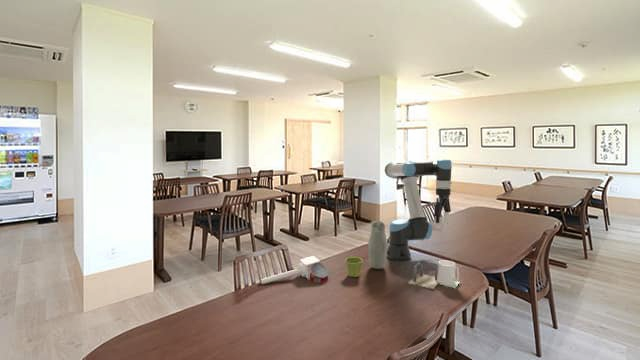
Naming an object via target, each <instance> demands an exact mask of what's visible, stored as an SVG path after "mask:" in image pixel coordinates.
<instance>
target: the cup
mask: <svg viewBox="0 0 640 360" xmlns="http://www.w3.org/2000/svg"><path fill="white" fill-rule="evenodd" d="M437 264H438V282H439V283H441V284H444V285H453V284H455V282H457V281H458V282H459V279H460V269H459V267H458V266H456V262H454V261H452V260H448V259H447V260H445V259H443V260H439V261H438V263H437ZM456 274H457V276H456Z"/></svg>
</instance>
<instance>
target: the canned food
mask: <svg viewBox="0 0 640 360" xmlns="http://www.w3.org/2000/svg"><path fill="white" fill-rule="evenodd" d="M310 270H311V272H310V273H309V281H310V282H311V283H313V282H314V284H325V283H326V282H327V281H329V271H328V269H327V268H326V266H325V265H323V263H321V261H320V262H318V263H314V264H311V267H310Z"/></svg>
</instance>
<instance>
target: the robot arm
mask: <svg viewBox="0 0 640 360" xmlns="http://www.w3.org/2000/svg"><path fill="white" fill-rule="evenodd" d="M452 168H453V167H452V161H451V160H450V159H444V158H443V159H437V161H429V162H427V161H426V162H423V161H422V162H417V161H412V160H408V161H407V160H406V161H392V162H389V163H388V164H386V166H385V167H384V174H385V175H386V176H387V177H388V178H392V179H393V180H394V179H398V180H400V182H401V183H402V184H403V185H404V186H403V187H404V191H405V197H406V203H407V208H408V213H409V218H408V219H396V220H395V219H394V220H392V221H391V222H390V223H389V229H388V230H389V244H388V246H387V257H386V259H389V260H393V261H400V262H401V261H408V260H410V259H411V257H412V255H411V249H410V248H409V241H425V240H429V239H430V238H431V236H432V234H433V223H432V222H431V221H429V220H428V219H427V216H425V215H424V212H423V211H424V210H423V206H422V201H421V197H420V191H419V186H418V180H419V178H420V177H421V176H429V177H430V176H435V177H436V178H435V179H436V180H435V187H436V189H435V195H436V196H438V197H436V202H435V208H434V212H433V217H435V219H434V220H435V221H434V223H435V225H434V228H435V229H437V230H441V227H442V222H443V224H446V225H449V224H450V223H449V222H450V213H451V211H452V210H451V204H450V203H451V202H450V196H451V191H452V190H451V186H452V183H453V182H452V179H451V178H452ZM443 210H444V212H442V211H443ZM442 213H443V221H442V216H441V215H442Z"/></svg>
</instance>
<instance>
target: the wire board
mask: <svg viewBox="0 0 640 360" xmlns="http://www.w3.org/2000/svg"><path fill="white" fill-rule="evenodd" d="M413 278H414V276H413V277H412V278H411V279H410V280H409V281H407V282H408V283H407V284H409V285H412V284H413V285H412V286H416V285H417V287H420V286H422V287H421V288H423V287H426V288H425V289H427V288H430V289H429V290H431V289H434V288H435V287H436V286H437V285H438V284H439V282H438V280H435V276H432V275H428V274H424V273H423V276H420V272H418V273H416V282H414V281H413ZM438 286H439V285H438ZM438 286H437V287H438ZM437 287H436V288H437ZM436 288H435V289H436ZM435 289H434V290H435Z"/></svg>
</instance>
